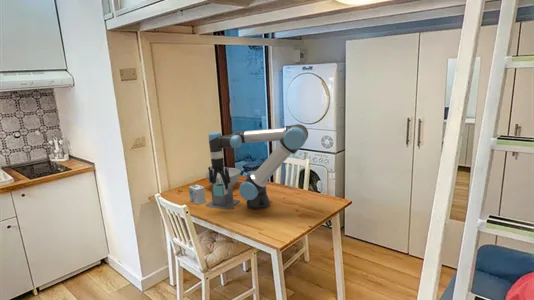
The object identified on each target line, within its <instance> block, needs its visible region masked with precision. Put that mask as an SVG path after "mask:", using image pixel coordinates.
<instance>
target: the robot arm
mask: <svg viewBox="0 0 534 300" xmlns="http://www.w3.org/2000/svg"><path fill="white" fill-rule="evenodd" d="M308 138H309V130H308V128H307V127H306V126H305V125H303V124H300V123H299V124H293V125H291V124H290V125H285V126H284V127H281V128H280V127H279V128H278V127H277V128H267V129H265V128H264V129H256V130H255V129H254V130H236V131H235V132H234V133H231V134H229V135H227V134H226V135H222V134H221V132H220V131H214V132H210V133H209V134H208V144H209V153H210V158H211V159H210V161H211V166H209V167H207V169H208V172H209V181H208V183H209V182H210V183H212V184H213V186H214V185H216V184H217V183H215V182H216V178H217V173H220V175H221V177H222V179H223V182H224V185H223V187H224V195H226V194H228V191H227V189H228V183H230V177H229V171H228V170H229V168H230V167H228V166H227V167H226V166H225V165H224V163H225V161H224V151H223V149H236V148H240V147H242V144H250V143H263V142H264V143H265V142H278V141H279V144H278V146H277V147H276V148H274V150H273V151H272V152H271V153H270V155H268V157H267V158H266V159H265V160H264V161H263V163H262V164H261V165H260V166H259V167H258V169H256V170H249V171H247V173H246V179H244V181H243V182H241V183H240V185H239V188H238V193H239V195H240V196H241V197H242V198H243V199H244V200H246V207H247V208H248V209H250V210H257V211H258V210H264V209H266V208H268V207H270V206H271V201H270V199H269V196H268V193H267V181H268V180H269V179H270V178H271V177H272V176H273V175H274V174H275V172H276V171H277V170H279V168H280V167H281V166H282V165H283V163H284V162H285V161H286V160H287V159H288V158H289V157H290V156H291V155H295V154H296V153H297V152H298V151H299V150H300V148H302V147H303V146H304V145H305V144H306V141H307V140H308ZM213 170H214V172H213ZM224 171H225V174H224ZM221 172H222V173H221ZM210 183H209V184H210ZM213 186H212V187H213Z"/></svg>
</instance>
